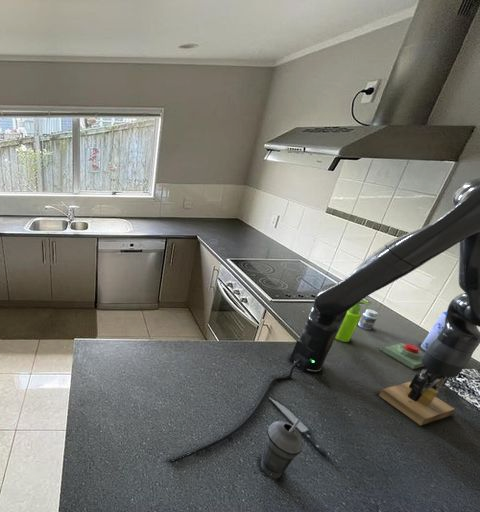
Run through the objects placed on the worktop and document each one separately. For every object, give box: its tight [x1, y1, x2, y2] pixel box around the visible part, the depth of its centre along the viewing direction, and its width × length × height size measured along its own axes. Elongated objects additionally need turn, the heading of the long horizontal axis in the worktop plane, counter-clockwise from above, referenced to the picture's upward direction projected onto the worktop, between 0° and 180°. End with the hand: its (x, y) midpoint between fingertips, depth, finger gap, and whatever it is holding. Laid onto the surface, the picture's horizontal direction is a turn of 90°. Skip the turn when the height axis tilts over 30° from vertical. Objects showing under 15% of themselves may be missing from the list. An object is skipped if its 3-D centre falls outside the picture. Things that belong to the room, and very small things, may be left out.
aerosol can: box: [420, 311, 447, 352], centre depth 112 cm, size 8×8×20 cm
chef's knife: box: [269, 397, 327, 457], centre depth 83 cm, size 19×1×3 cm
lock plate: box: [378, 381, 456, 426], centre depth 90 cm, size 14×11×3 cm
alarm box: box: [382, 342, 425, 370], centre depth 111 cm, size 11×10×4 cm
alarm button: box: [405, 343, 420, 353], centre depth 110 cm, size 4×4×2 cm
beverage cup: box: [260, 418, 304, 479], centre depth 68 cm, size 7×7×20 cm
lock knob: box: [407, 386, 439, 406], centre depth 89 cm, size 5×2×6 cm, turn 17°
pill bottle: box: [357, 308, 379, 330], centre depth 128 cm, size 5×5×8 cm
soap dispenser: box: [335, 299, 372, 343], centre depth 118 cm, size 6×7×20 cm
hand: (419, 396), depth 90 cm, fingers open, 6 cm apart
